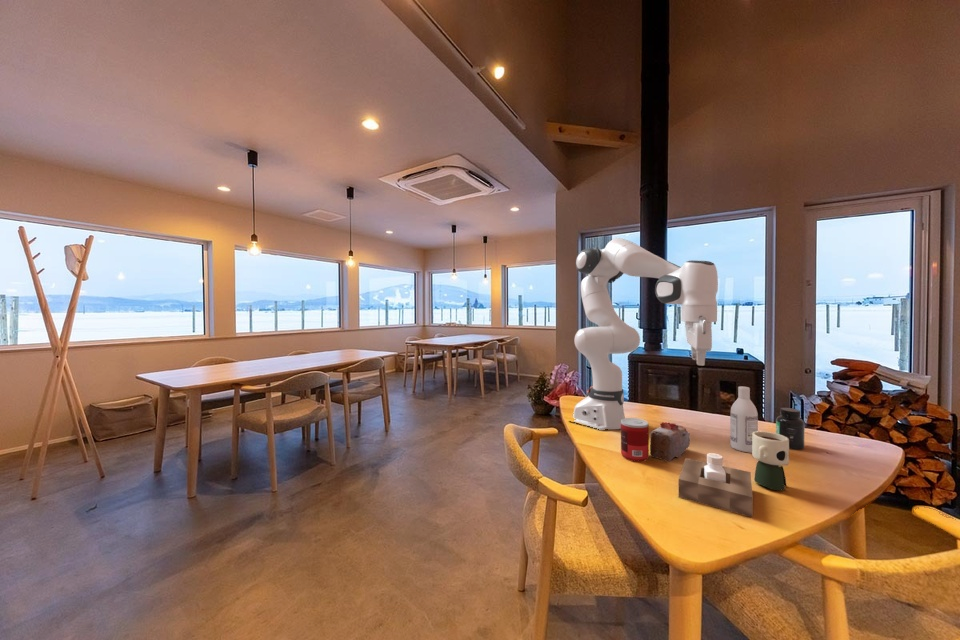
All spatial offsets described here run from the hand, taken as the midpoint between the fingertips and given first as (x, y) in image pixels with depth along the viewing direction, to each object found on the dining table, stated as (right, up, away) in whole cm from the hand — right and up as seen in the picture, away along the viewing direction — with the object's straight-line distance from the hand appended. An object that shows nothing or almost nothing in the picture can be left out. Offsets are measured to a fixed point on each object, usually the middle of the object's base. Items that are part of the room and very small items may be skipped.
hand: (697, 362), depth 100 cm
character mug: (+10, -30, -14) cm, 34 cm away
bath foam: (+21, -29, +9) cm, 37 cm away
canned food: (-16, -30, +5) cm, 35 cm away
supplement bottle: (+37, -29, +11) cm, 48 cm away
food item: (-4, -30, +7) cm, 31 cm away
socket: (-6, -30, -16) cm, 35 cm away
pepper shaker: (-7, -31, -16) cm, 35 cm away
